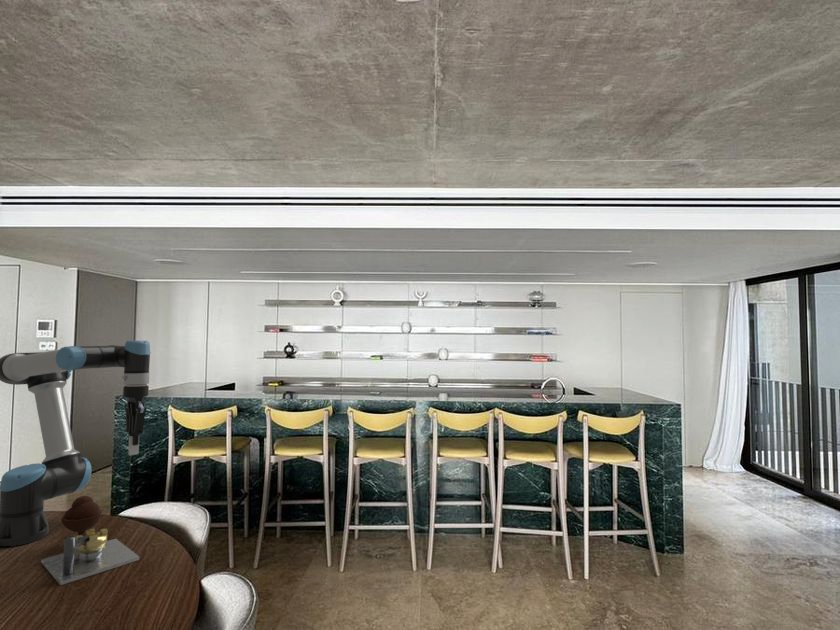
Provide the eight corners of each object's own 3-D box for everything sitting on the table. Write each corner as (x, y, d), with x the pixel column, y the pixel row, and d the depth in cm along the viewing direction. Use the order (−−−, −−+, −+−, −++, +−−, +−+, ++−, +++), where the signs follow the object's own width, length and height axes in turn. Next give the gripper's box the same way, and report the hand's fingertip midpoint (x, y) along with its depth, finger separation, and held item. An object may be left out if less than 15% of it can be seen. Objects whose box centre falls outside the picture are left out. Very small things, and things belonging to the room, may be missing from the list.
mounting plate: (41, 562, 145) (42, 549, 145) (115, 541, 160) (116, 529, 160) (60, 585, 132) (61, 570, 132) (139, 559, 147) (139, 546, 148)
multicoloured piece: (86, 551, 150) (88, 519, 151) (112, 551, 150) (113, 519, 151) (50, 574, 135) (52, 539, 136) (79, 574, 135) (80, 539, 136)
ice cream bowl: (51, 548, 154) (54, 501, 155) (83, 534, 165) (85, 490, 166) (78, 552, 152) (80, 504, 152) (108, 538, 163) (110, 493, 163)
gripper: (117, 384, 166) (114, 453, 165) (131, 387, 158) (128, 459, 157) (140, 383, 172) (137, 449, 171) (155, 385, 164) (152, 455, 163)
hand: (133, 454), depth 164 cm, fingers closed
